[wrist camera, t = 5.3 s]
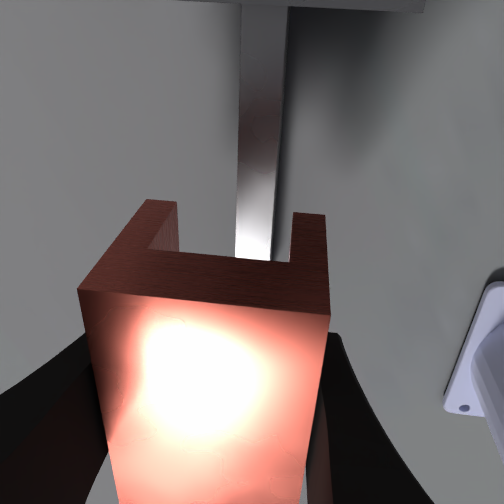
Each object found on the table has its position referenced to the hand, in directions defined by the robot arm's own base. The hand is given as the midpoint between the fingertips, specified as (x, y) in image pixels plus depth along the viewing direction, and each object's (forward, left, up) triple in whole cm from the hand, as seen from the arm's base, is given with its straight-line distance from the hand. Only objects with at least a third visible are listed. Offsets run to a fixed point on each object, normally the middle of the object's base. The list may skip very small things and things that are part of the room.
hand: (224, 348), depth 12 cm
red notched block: (0, 0, -1) cm, 1 cm away
